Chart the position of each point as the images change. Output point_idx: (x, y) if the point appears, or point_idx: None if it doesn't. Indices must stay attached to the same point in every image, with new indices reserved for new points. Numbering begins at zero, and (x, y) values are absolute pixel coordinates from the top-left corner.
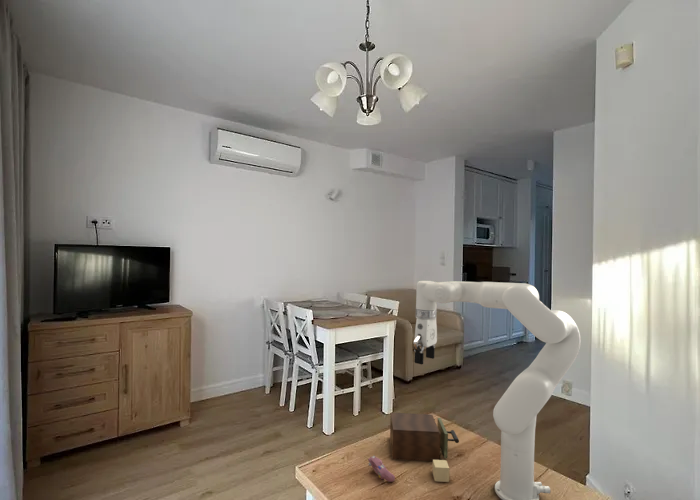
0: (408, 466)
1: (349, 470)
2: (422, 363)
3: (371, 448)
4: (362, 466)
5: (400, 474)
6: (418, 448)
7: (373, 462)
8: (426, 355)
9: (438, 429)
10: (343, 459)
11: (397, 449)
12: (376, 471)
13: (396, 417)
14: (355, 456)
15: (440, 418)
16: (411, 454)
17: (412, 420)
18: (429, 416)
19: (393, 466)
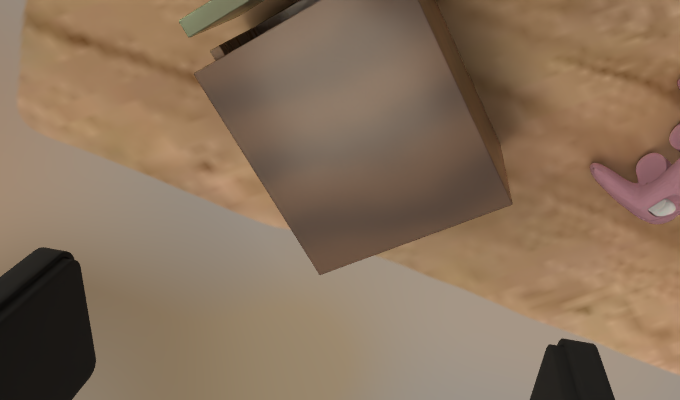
0: (525, 63)
1: (666, 259)
2: (594, 354)
3: (460, 246)
4: (614, 228)
5: (609, 72)
6: (453, 53)
7: None
8: (77, 383)
9: (236, 12)
10: (595, 304)
11: (495, 142)
12: (671, 164)
13: (358, 233)
14: (552, 276)
15: (187, 18)
16: (467, 76)
17: (342, 149)
18: (229, 80)
19: (557, 121)
